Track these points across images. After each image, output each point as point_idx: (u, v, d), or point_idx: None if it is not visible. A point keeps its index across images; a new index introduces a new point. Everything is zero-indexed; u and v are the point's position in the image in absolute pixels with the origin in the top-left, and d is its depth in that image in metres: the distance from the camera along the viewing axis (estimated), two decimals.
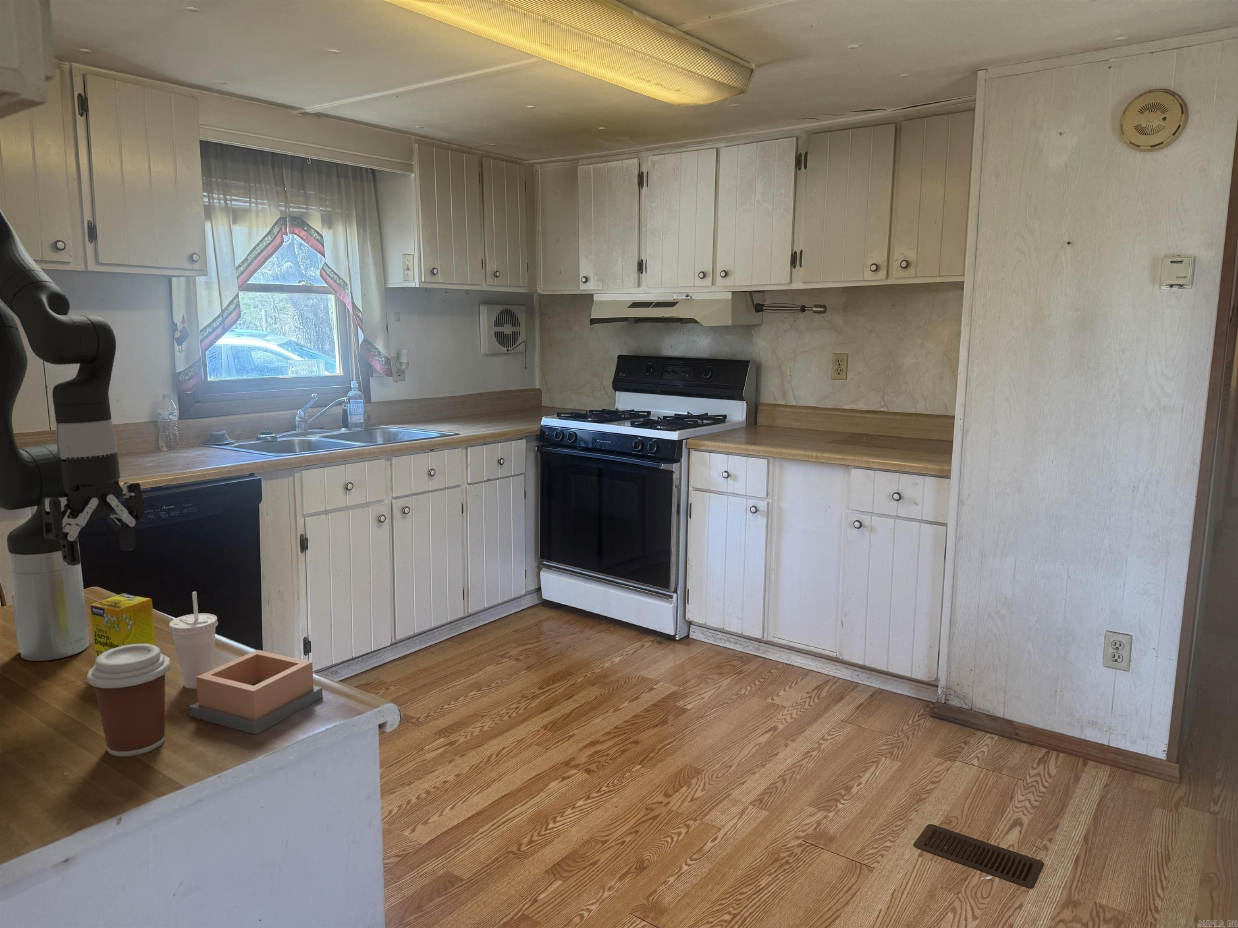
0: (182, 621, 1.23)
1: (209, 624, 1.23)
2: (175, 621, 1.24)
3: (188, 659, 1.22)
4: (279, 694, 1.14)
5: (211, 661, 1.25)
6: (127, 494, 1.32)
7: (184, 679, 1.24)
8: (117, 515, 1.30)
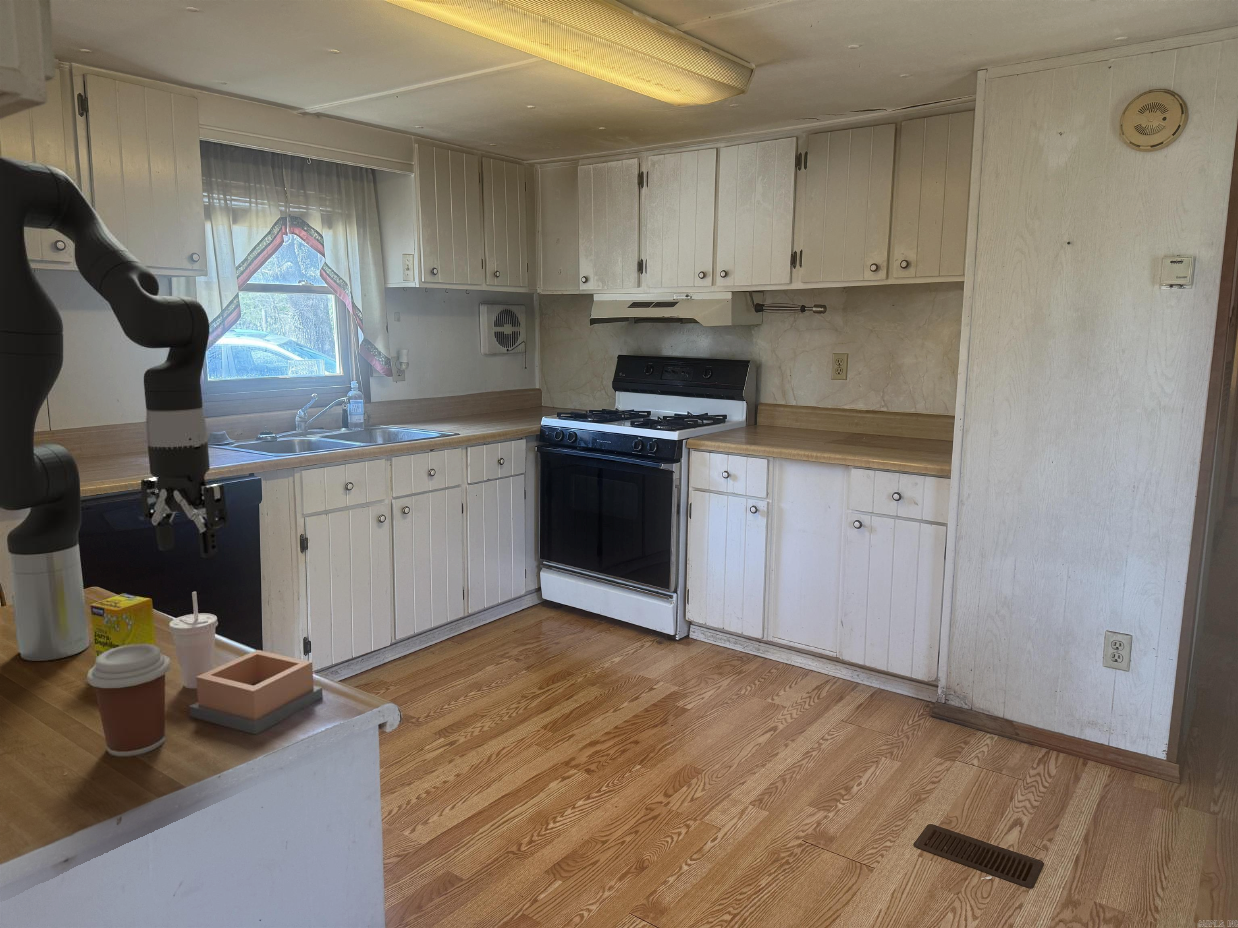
0: (182, 621, 1.23)
1: (209, 624, 1.23)
2: (175, 621, 1.24)
3: (188, 659, 1.22)
4: (279, 694, 1.14)
5: (211, 661, 1.25)
6: None
7: (184, 679, 1.24)
8: None
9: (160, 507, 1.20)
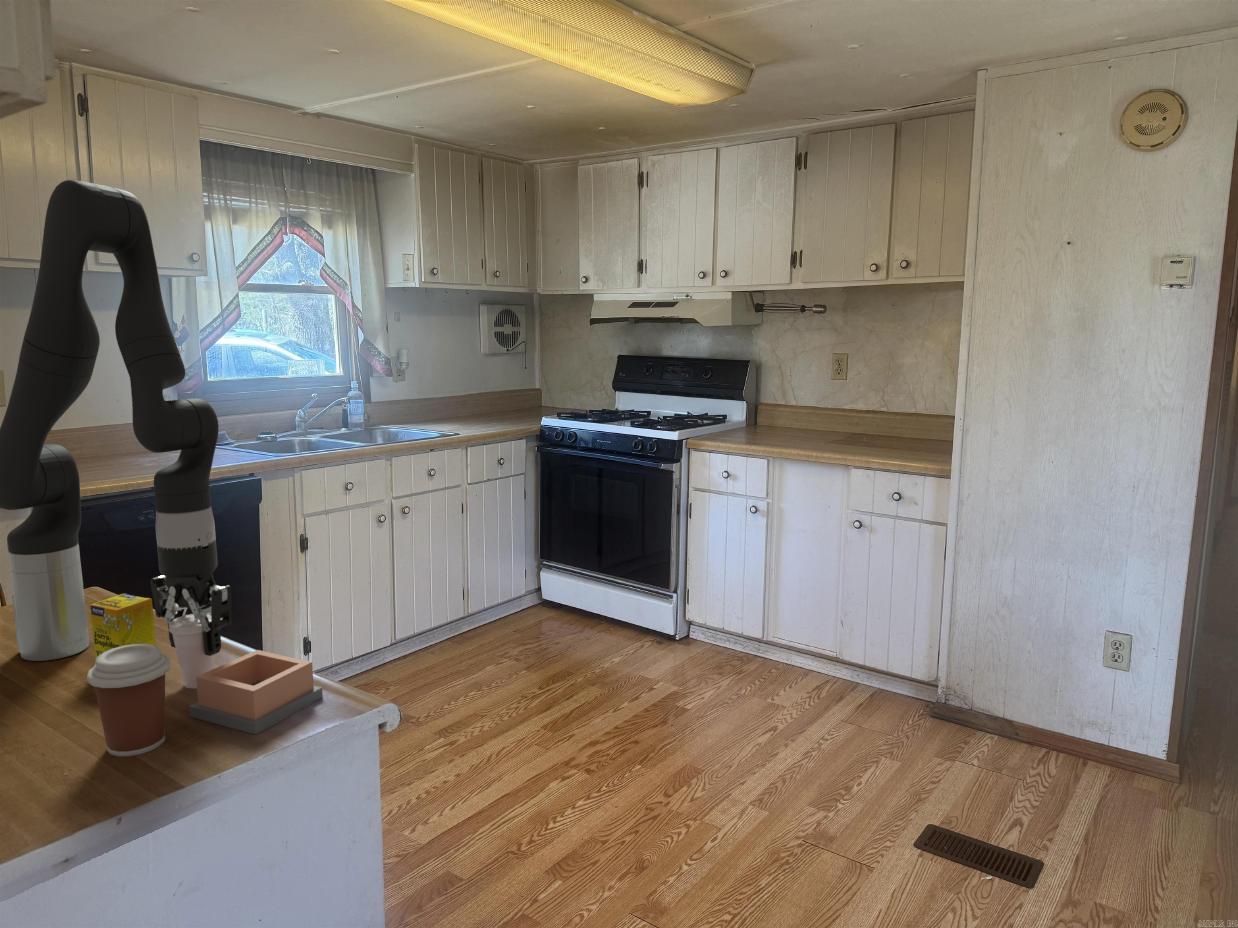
0: (182, 621, 1.23)
1: None
2: (175, 621, 1.24)
3: (188, 659, 1.22)
4: (279, 694, 1.14)
5: (211, 661, 1.25)
6: None
7: (184, 679, 1.24)
8: None
9: (170, 605, 1.23)
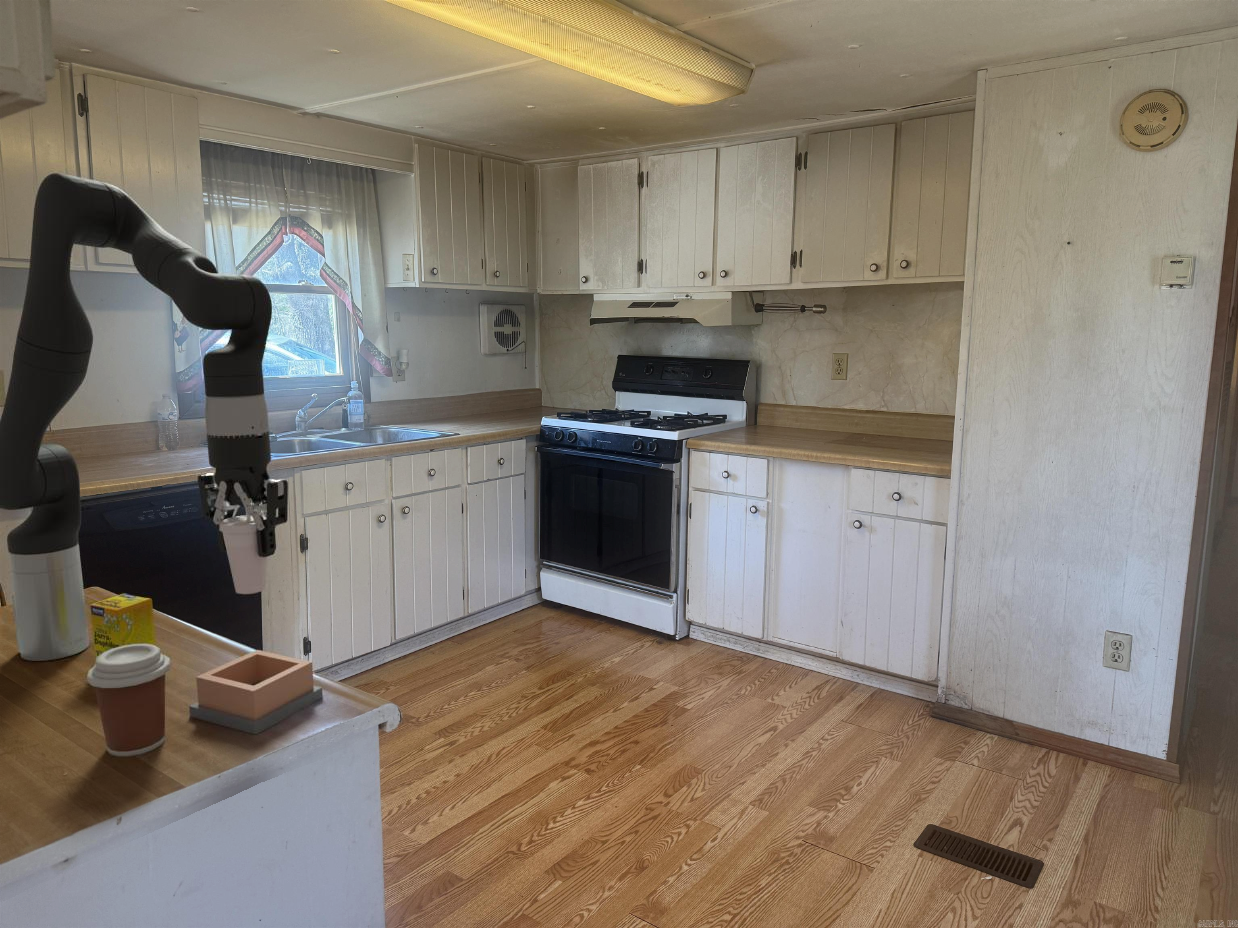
0: (233, 521, 1.13)
1: None
2: (225, 521, 1.13)
3: (241, 561, 1.12)
4: (279, 694, 1.14)
5: (264, 565, 1.15)
6: None
7: (236, 584, 1.13)
8: (236, 505, 1.15)
9: (220, 502, 1.12)
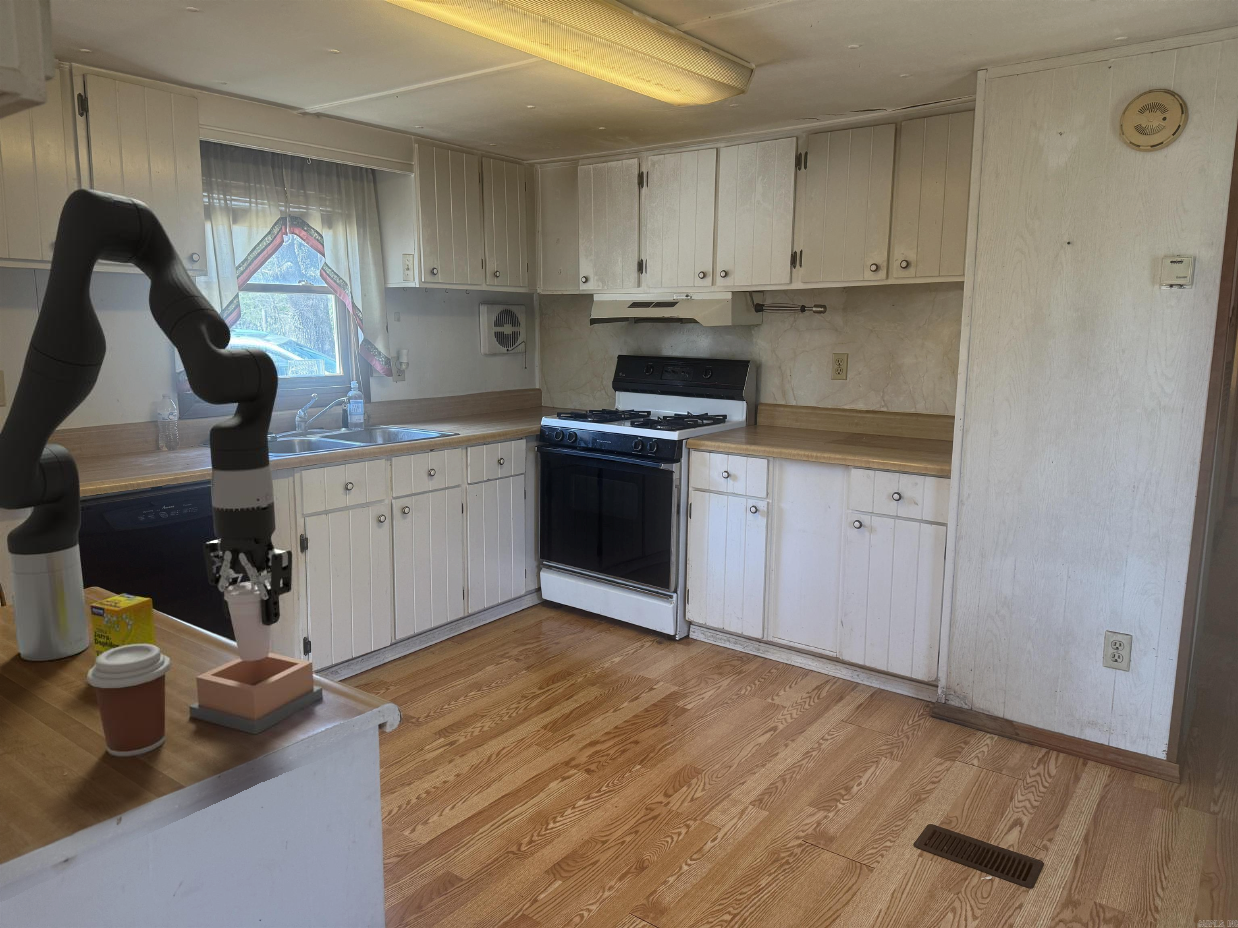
0: (238, 589, 1.15)
1: None
2: (230, 589, 1.15)
3: (245, 629, 1.14)
4: (279, 694, 1.14)
5: (268, 632, 1.16)
6: None
7: (240, 651, 1.15)
8: None
9: (225, 571, 1.14)
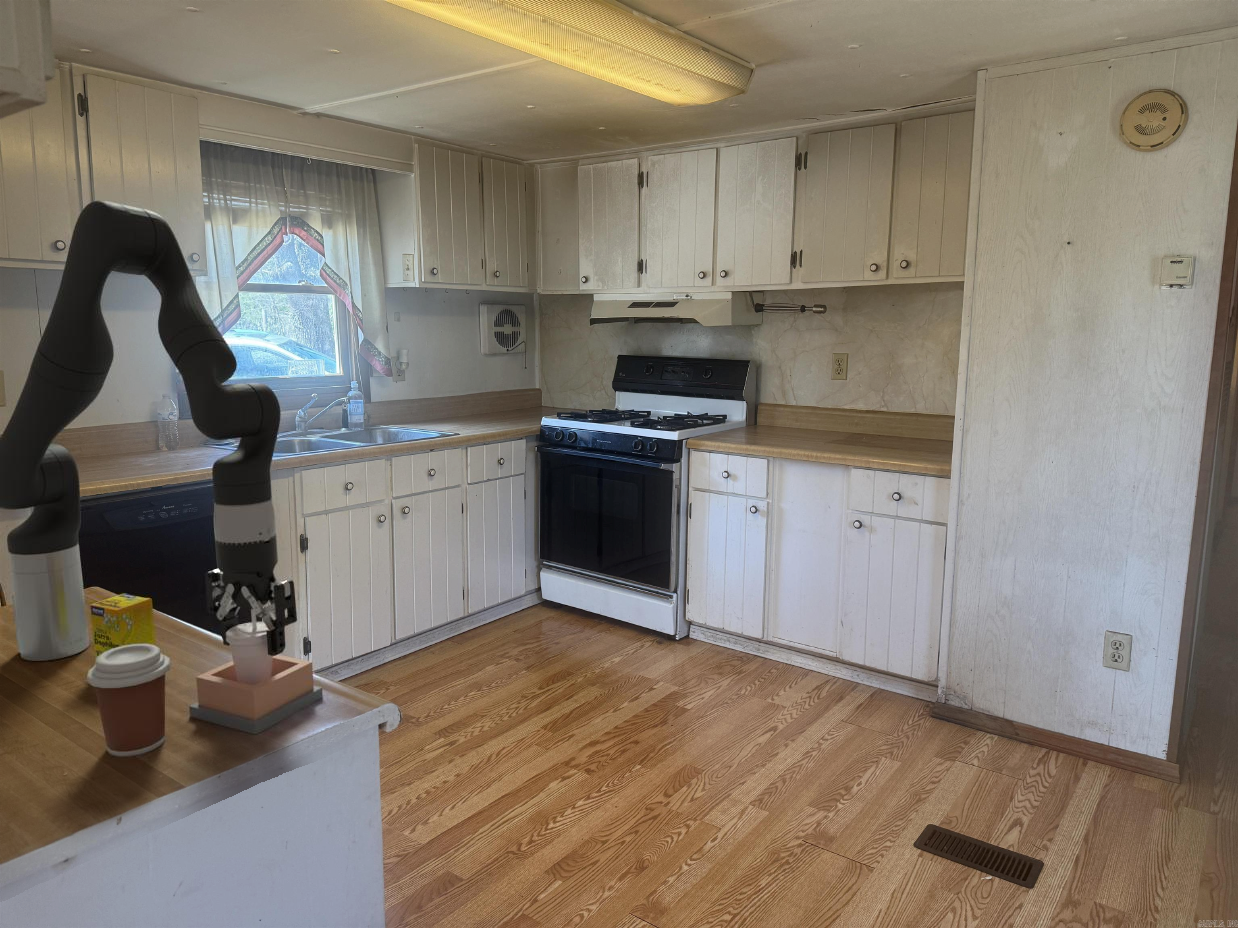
0: (239, 630, 1.16)
1: None
2: (232, 630, 1.16)
3: (246, 671, 1.15)
4: (279, 694, 1.14)
5: (270, 673, 1.17)
6: None
7: None
8: None
9: (226, 602, 1.15)
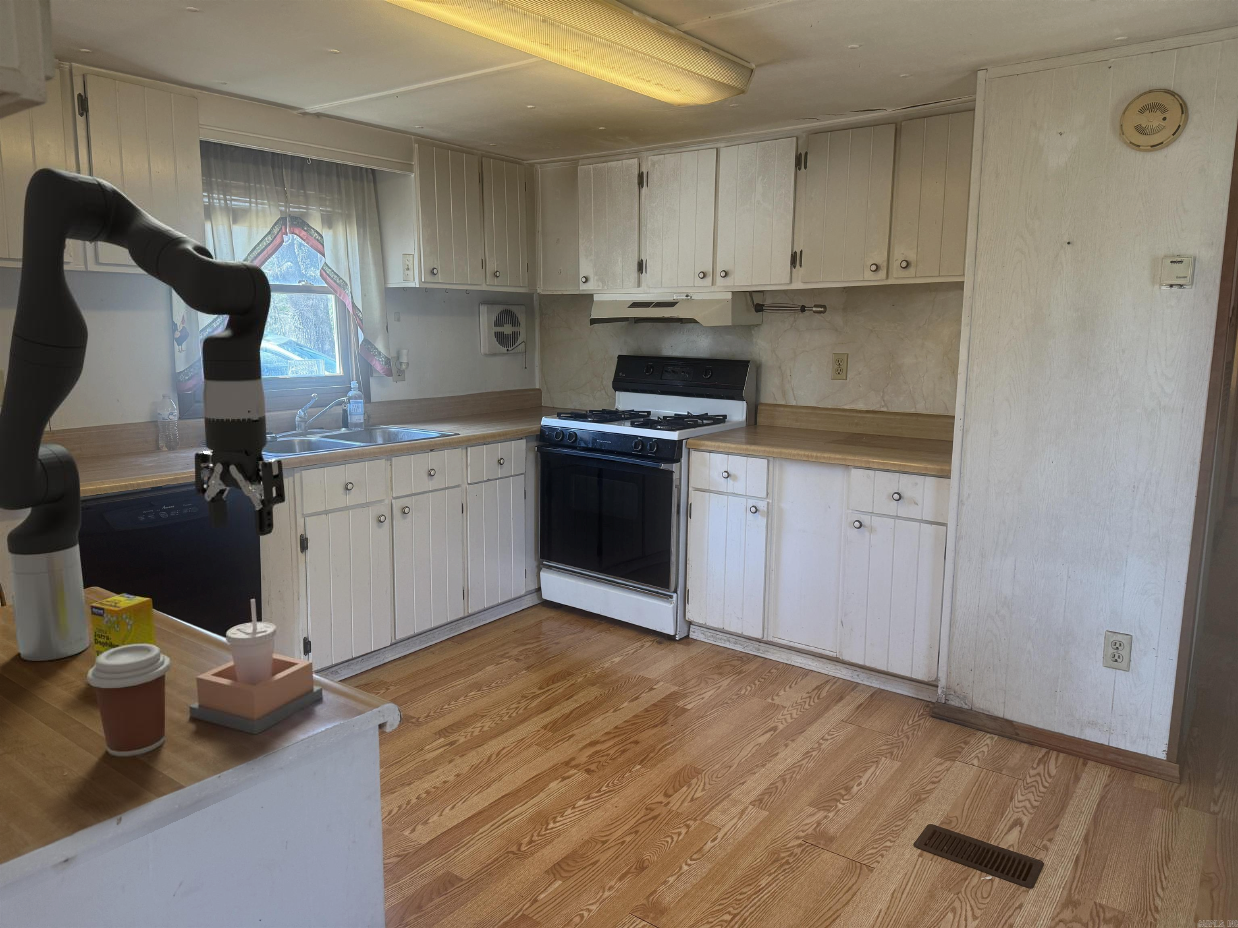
0: (240, 630, 1.16)
1: (269, 634, 1.15)
2: (232, 630, 1.16)
3: (247, 671, 1.15)
4: (279, 694, 1.14)
5: (270, 673, 1.17)
6: None
7: None
8: None
9: (214, 482, 1.15)
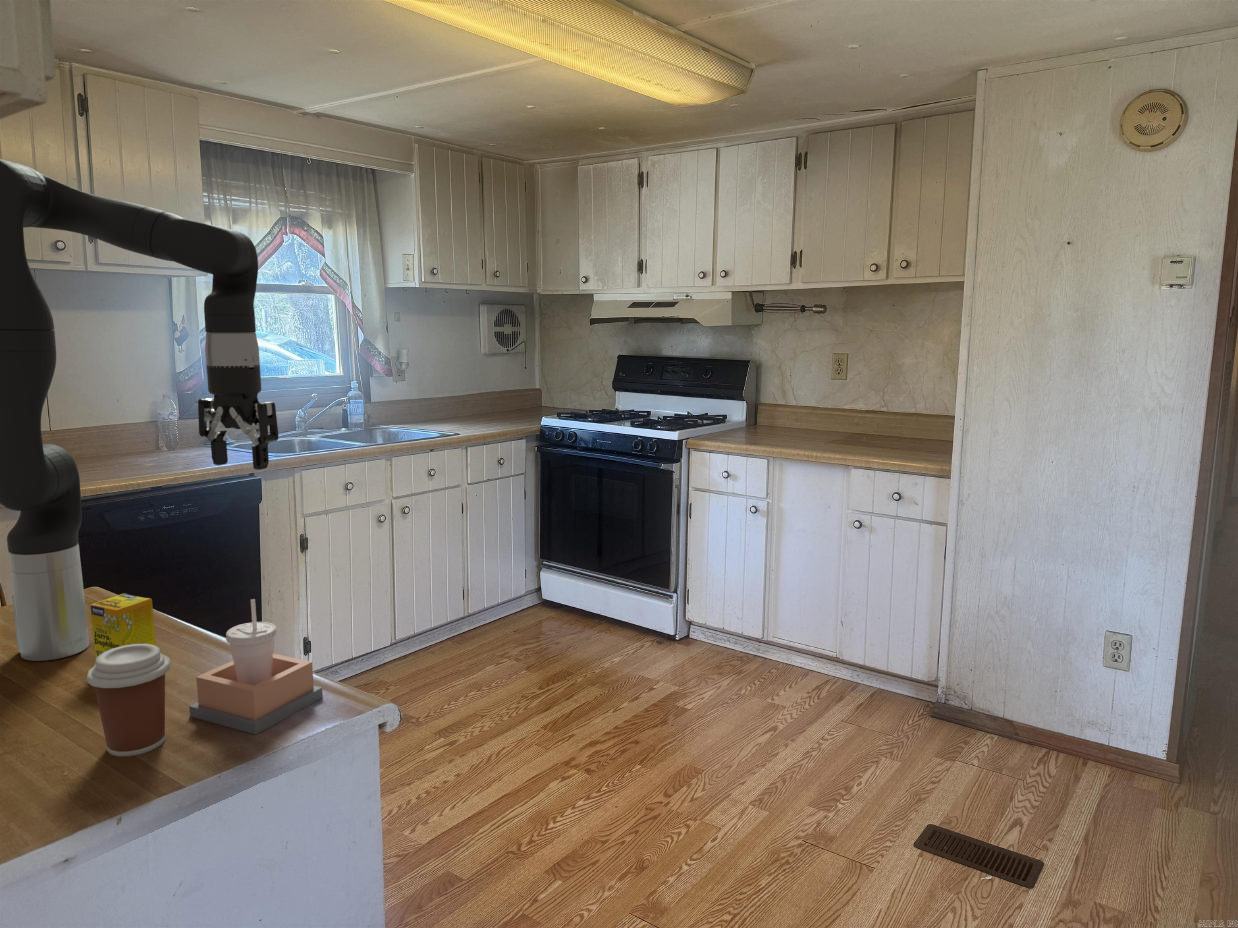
0: (240, 630, 1.16)
1: (269, 633, 1.15)
2: (232, 630, 1.16)
3: (247, 671, 1.15)
4: (279, 694, 1.14)
5: (270, 673, 1.17)
6: (215, 409, 1.34)
7: None
8: None
9: (216, 424, 1.31)
